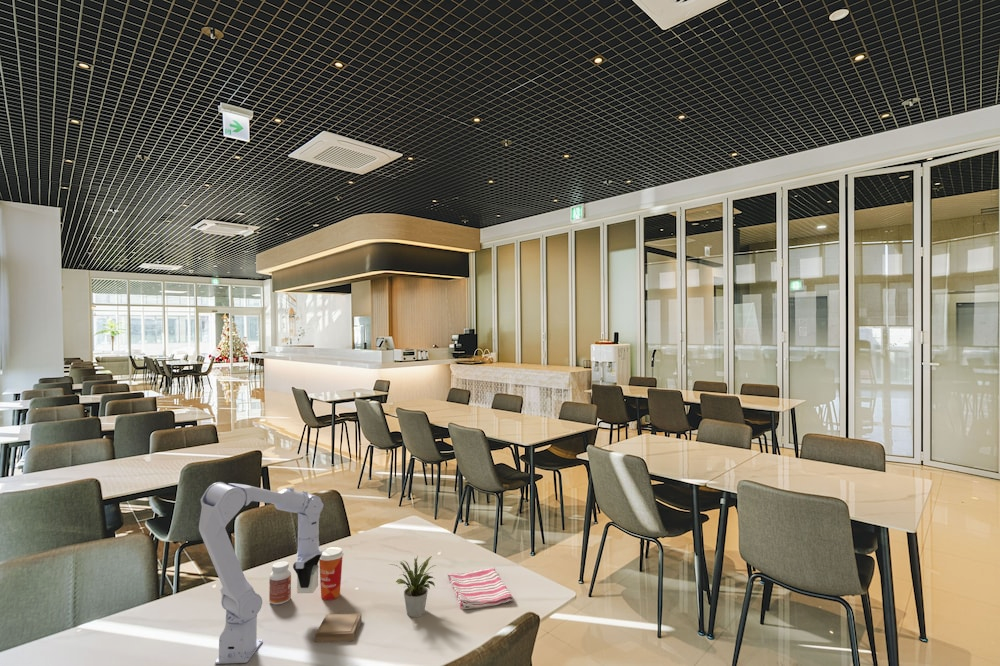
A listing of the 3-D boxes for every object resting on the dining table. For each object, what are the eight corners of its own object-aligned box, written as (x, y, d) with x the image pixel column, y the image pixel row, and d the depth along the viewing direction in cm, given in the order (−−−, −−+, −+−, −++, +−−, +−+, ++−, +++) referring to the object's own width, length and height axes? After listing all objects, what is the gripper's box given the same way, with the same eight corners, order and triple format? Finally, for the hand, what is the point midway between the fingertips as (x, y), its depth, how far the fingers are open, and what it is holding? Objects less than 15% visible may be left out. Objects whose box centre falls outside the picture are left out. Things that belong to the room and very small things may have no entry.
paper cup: (312, 598, 157) (312, 553, 158) (331, 587, 164) (331, 544, 164) (330, 604, 153) (330, 558, 154) (348, 593, 160) (349, 549, 161)
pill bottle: (292, 601, 155) (293, 565, 155) (271, 607, 152) (271, 570, 152) (288, 593, 160) (289, 558, 161) (267, 598, 157) (268, 563, 157)
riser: (353, 640, 134) (353, 632, 134) (315, 642, 134) (315, 633, 134) (361, 620, 144) (361, 613, 144) (326, 621, 144) (326, 613, 144)
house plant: (388, 630, 139) (388, 570, 140) (385, 605, 153) (386, 551, 153) (439, 622, 143) (439, 565, 144) (432, 599, 157) (432, 546, 157)
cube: (313, 593, 144) (313, 572, 144) (296, 593, 143) (297, 572, 144) (318, 585, 148) (318, 565, 148) (302, 585, 148) (302, 565, 148)
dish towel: (460, 613, 149) (460, 601, 149) (446, 578, 172) (446, 568, 172) (514, 605, 154) (514, 593, 154) (494, 572, 176) (494, 562, 177)
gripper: (314, 545, 139) (313, 595, 139) (329, 526, 154) (328, 571, 153) (288, 545, 139) (287, 595, 138) (306, 527, 153) (305, 572, 153)
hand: (307, 583), depth 146 cm, fingers closed on cube, 4 cm apart
